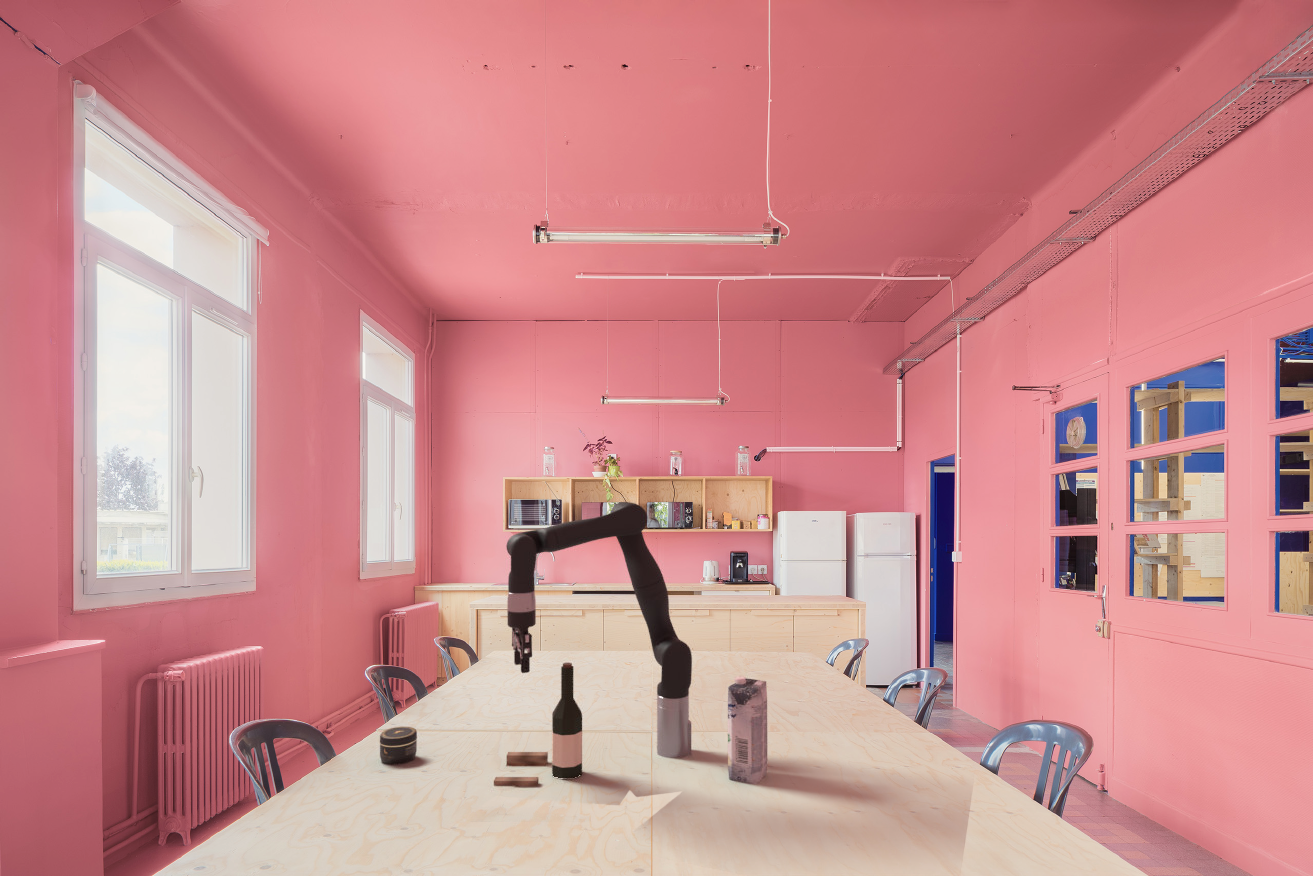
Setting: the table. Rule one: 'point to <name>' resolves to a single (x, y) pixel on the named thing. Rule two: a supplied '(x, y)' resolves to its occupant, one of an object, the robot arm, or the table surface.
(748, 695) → the juice carton
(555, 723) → the wine bottle
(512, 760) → the u rest
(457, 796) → the table surface
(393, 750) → the jar
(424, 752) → the table surface
